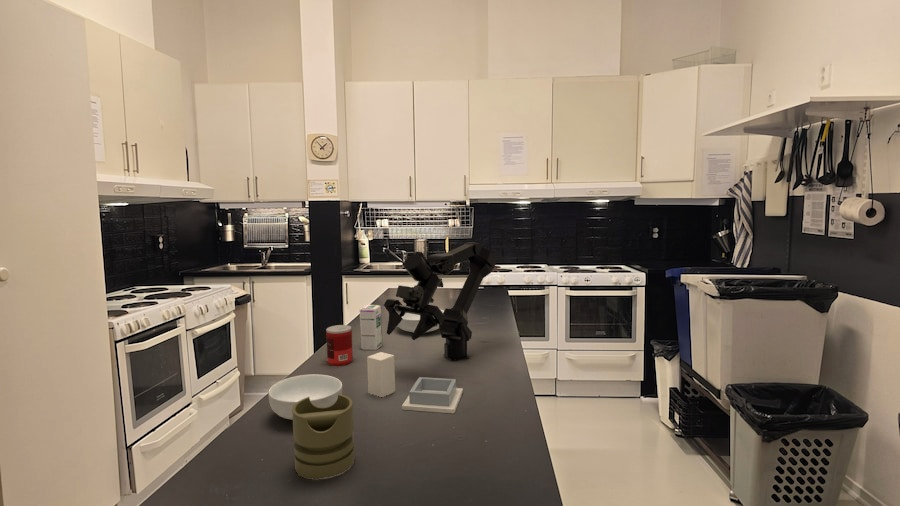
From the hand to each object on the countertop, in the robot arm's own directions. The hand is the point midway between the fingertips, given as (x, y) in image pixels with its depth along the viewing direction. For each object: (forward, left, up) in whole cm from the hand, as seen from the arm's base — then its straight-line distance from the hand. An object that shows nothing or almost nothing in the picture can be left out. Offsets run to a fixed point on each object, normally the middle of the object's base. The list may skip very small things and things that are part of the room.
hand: (400, 336), depth 135 cm
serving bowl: (-24, -48, -14) cm, 56 cm away
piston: (+27, +33, -14) cm, 45 cm away
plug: (+7, +4, -13) cm, 15 cm away
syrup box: (-1, -35, -14) cm, 38 cm away
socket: (-4, +15, -13) cm, 20 cm away
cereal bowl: (+27, +9, -14) cm, 31 cm away
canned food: (+12, -25, -14) cm, 31 cm away
